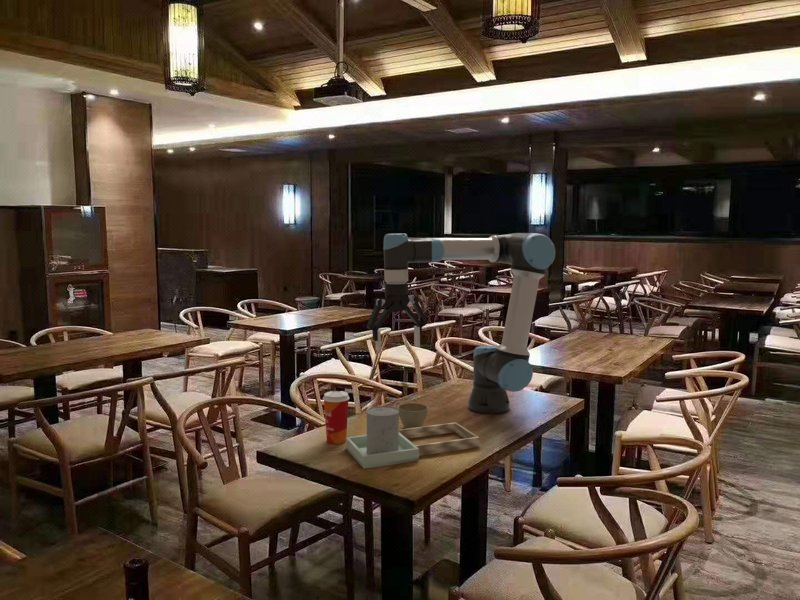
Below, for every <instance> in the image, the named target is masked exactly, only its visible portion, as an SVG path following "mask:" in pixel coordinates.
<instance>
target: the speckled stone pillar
mask: <svg viewBox="0 0 800 600" xmlns="http://www.w3.org/2000/svg"><path fill="white" fill-rule="evenodd" d="M365 413H366V435H367V451H366V452H367V454H368V455H371V454H378V453H385V452H392V451H399V429H400V423H399V422H400V421H399V420H400V416H399V410H398V407H397V408H396V407H393V406H384V405H383V406H382V405H381V406H373V407H369V408H368V409H366V411H365Z"/></svg>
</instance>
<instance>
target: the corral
mask: <svg viewBox="0 0 800 600" xmlns="http://www.w3.org/2000/svg"><path fill="white" fill-rule="evenodd" d="M399 433H400V434H402V435H403V436H404V437H405V438H406V439H408V440H409V439H414V438H421V437H422V438H423V437H429V436H430V437H431V436H437V435H443V434H450V433H451V434H452V433H453V434H454V433H455V434H456V435H458V436H459V437H461V438H459V439H451V440H443V441H437V442H429V443H422V444H414V443H413V442H412V441H411V440H409V441H410V442H411V443H412V444H414V445H415V446H416V447H417V448H418V449H419V457H420V456H425V455H426V456H427V455H434V454H440V453H447V452H455V451H461V450H468V449H475V448H476V449H477V448H480V437H479V436H478V435H476V434H475V433H473V432H472V431H470V430H468V429H467V428H466V427H464V426H462V425H461V424H459V423H457V422H447V423H440V424H433V425H426V426H425V425H422V426H421V427H415V428H407V429H405V428H402V429H401V428H399Z"/></svg>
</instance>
